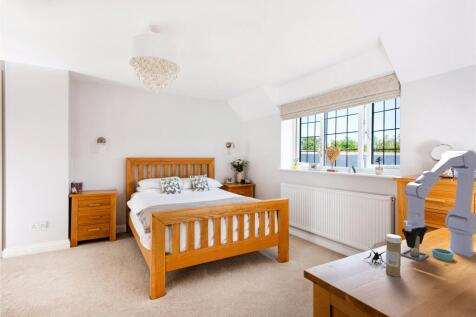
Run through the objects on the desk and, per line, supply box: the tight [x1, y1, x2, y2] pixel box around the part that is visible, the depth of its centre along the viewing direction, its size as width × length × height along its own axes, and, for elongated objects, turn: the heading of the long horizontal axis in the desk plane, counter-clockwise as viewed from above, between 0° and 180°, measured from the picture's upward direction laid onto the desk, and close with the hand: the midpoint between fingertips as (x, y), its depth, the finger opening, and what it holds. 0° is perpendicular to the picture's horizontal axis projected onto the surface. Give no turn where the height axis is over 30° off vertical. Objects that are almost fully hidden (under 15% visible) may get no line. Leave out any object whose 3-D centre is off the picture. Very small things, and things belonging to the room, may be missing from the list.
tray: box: [401, 248, 430, 262], centre depth 102 cm, size 9×7×1 cm
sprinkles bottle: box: [385, 233, 403, 277], centre depth 87 cm, size 5×5×14 cm
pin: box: [409, 236, 420, 257], centre depth 101 cm, size 3×3×8 cm
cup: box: [431, 247, 455, 262], centre depth 101 cm, size 7×7×3 cm
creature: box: [364, 246, 386, 269], centre depth 95 cm, size 8×5×8 cm
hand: (414, 245), depth 101 cm, fingers open, 7 cm apart
